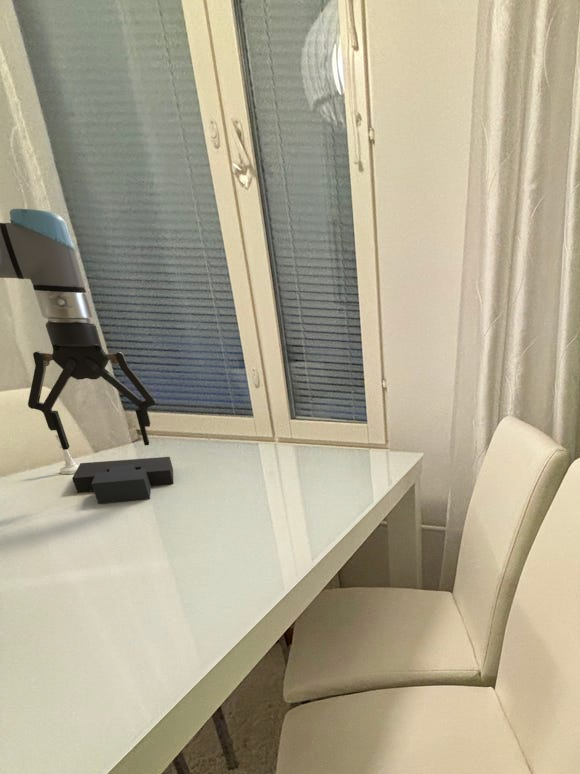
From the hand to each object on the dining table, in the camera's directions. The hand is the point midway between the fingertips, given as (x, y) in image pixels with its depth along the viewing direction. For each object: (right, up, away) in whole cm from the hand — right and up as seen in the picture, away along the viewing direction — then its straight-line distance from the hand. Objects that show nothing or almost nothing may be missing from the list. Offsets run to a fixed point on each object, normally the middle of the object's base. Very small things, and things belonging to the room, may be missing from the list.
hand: (107, 446), depth 107 cm
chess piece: (-22, +1, +21) cm, 30 cm away
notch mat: (-6, -2, +15) cm, 16 cm away
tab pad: (-1, -7, +7) cm, 10 cm away
